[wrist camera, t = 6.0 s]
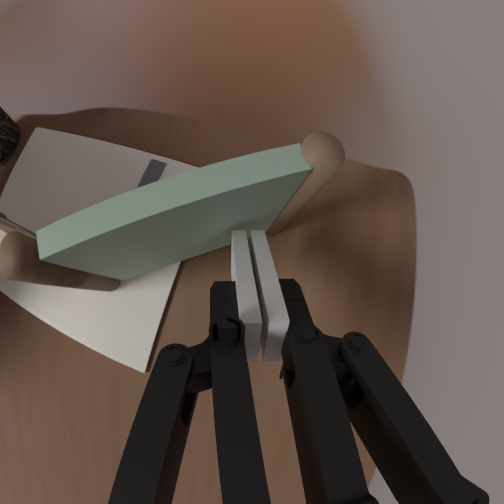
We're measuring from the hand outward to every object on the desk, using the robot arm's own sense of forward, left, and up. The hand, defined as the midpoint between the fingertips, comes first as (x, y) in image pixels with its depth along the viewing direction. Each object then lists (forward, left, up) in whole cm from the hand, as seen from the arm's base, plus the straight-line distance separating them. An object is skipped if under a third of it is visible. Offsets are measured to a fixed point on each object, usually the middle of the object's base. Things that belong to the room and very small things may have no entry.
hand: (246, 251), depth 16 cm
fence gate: (-3, 0, -5) cm, 6 cm away
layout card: (-15, -2, -6) cm, 16 cm away
